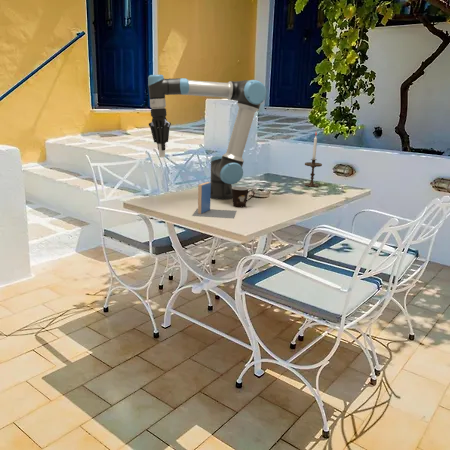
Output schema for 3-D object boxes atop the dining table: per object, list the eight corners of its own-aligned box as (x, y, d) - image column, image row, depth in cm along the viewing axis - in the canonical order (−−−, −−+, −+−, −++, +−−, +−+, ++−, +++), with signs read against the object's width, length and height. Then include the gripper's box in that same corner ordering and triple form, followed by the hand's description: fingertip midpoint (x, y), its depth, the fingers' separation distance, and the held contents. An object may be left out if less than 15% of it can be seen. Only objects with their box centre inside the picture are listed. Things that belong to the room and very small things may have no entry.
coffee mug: (230, 208, 238) (230, 189, 236) (232, 204, 247) (232, 186, 244) (252, 210, 237) (253, 190, 234) (254, 206, 245) (255, 187, 242)
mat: (197, 209, 234) (197, 208, 234) (236, 211, 232) (236, 210, 232) (191, 217, 220) (191, 215, 220) (234, 219, 219) (234, 218, 218)
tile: (206, 209, 233) (207, 181, 229) (210, 210, 232) (211, 182, 228) (197, 213, 225) (198, 184, 221) (201, 214, 224) (202, 185, 220)
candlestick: (304, 183, 309) (308, 129, 300) (321, 185, 306) (325, 130, 296) (301, 186, 299) (306, 131, 290) (318, 188, 296) (323, 132, 286)
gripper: (143, 108, 227) (147, 157, 233) (162, 108, 220) (166, 158, 226) (153, 108, 233) (158, 155, 239) (173, 107, 226) (177, 156, 232)
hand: (162, 156), depth 232 cm, fingers closed
